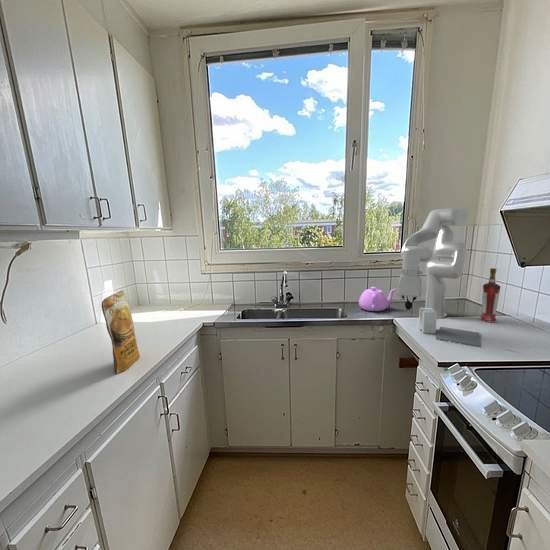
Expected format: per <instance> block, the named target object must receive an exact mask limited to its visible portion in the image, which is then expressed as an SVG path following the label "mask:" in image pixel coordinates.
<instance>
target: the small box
mask: <svg viewBox="0 0 550 550" xmlns="http://www.w3.org/2000/svg"><path fill="white" fill-rule="evenodd" d="M418 312H419V313H418V329H419V328H420V329H421V330H422V331H421V330H420V329H419V330H420V331H421V332H422V334H433V333H435V334H436V333H437V332H436V331H437V319H438V318H437V312H435V311H434V310H433V309H432V308H425V307H419V311H418Z"/></svg>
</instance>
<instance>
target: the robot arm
mask: <svg viewBox="0 0 550 550" xmlns="http://www.w3.org/2000/svg"><path fill="white" fill-rule="evenodd" d="M469 215H470V214H469V211H468V209H467V208H464V207H463V208H462V207H459V208H457V207H454V208H453V207H452V208H450V207H449V208H435V209H433V210H431V211H430V212H429V214H428V216H427V217H426V219H425V221H424V223H423V226H422V227H421V229H420V230H418V231H416V232H414V233H413V234H411V235H410V236H409V237H408V238H406V240H405V242H404V243H403V245H402V247H401V250H400V257H401V259H402V267H401V268H402V269H401V270H402V271H401V274H400V276H399V280H398V287H397V297H398V298H401V299H403V300H404V308H405V310H406V311H407V310H409V311H410V310H411V309H412V308H413V302H414V301H416V300H421V298H422V276H421V275H423V271H421V270H420V263H425V262H427V263H426V265H425V273H426V288H425V289H426V290H425V304H424V308H432V309H433V310H434V311H435V312H437V319H444V318H446V317H448V314H447V313H446V312H445V302H446V289H447V287H446V286H447V284H446V282H445V280H444V279H450V280H452V279H453V280H454V279H455V280H456V279H460V278H461V276H462V274H463V269H464V265H465V261H466V257H467V250H468V249H467V245H466V244H465V243H464V242H462V241H454V237H455V232H454V231H453V229H452V228H451V227H450V226H458V225H464V224H466V223H467V222H468V219H469V217H470V216H469ZM434 239H435V241H434V246H433V250H432V249H431V248H430V247H428V246H420V244H422V243H426V242H429V241H433V240H434ZM418 245H419V246H418ZM433 256H434V257H435V258H437V259H432V257H433ZM431 259H432V260H431ZM444 259H445V260H444ZM443 278H444V279H443Z"/></svg>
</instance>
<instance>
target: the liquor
mask: <svg viewBox="0 0 550 550" xmlns="http://www.w3.org/2000/svg"><path fill="white" fill-rule="evenodd" d="M497 270H498V269H497V268H495V267H492V268H489V277H488V282H486V283H484V284H483V285H482V297H481V298H482V301H481V302H482V305H481V316H480V319H481V320H482V321H483V320H485V321H484V322H486V321H491V322H490V323H493V322H495V321H497V318H496V317H497V310H498V309H497V308H498V304H499V303H498V302H499V298H500V297H499V296H500V292H501V286H500V285H499V284H497V282H496V274H497ZM492 321H493V322H492Z"/></svg>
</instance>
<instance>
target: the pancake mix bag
mask: <svg viewBox="0 0 550 550" xmlns="http://www.w3.org/2000/svg"><path fill="white" fill-rule="evenodd" d="M101 311H102V314H103V317H104V320H105V326H106V330H107V334H108V336H109V338H110V340H111V345H112V358H113V373H115V374H119V373H122V372H126V371H127V370H128V369H129V368H130V367H132V366H133V365H134V363H136V362H137V361H138V360H139V359H140V357H141V355H140V351H139V347H138V343H137V337H136V333H135V326H134V319H133V315H132V312H131V308H130V305H129V303H128V300H127V297H126V294H125V292H124V291H123V290H120V291H118V292H116V293H112V294H111V295H109V296H107V297H105V298H104V299H103V300H102V301H101Z"/></svg>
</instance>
